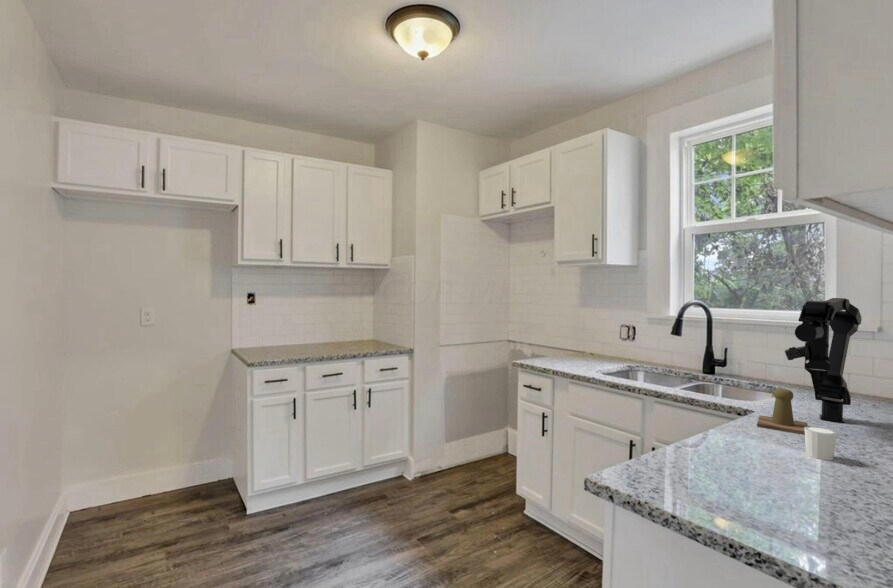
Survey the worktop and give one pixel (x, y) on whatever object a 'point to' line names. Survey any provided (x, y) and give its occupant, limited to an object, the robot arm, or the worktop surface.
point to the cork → (783, 407)
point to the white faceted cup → (820, 442)
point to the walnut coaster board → (766, 423)
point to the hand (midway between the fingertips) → (816, 387)
